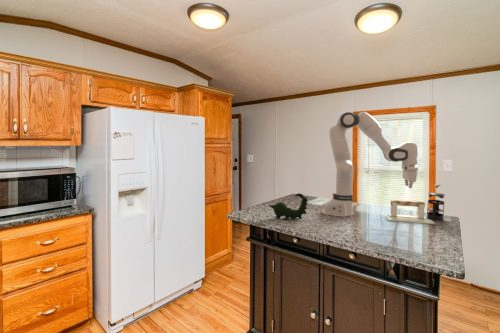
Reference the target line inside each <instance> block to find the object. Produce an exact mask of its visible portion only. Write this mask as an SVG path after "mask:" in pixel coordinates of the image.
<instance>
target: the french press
mask: <svg viewBox="0 0 500 333" xmlns="http://www.w3.org/2000/svg"><path fill="white" fill-rule="evenodd" d="M433 186H434V187H435V188H436V189H435V190H436V192H428V197H429V198H431V197H435V199H427V211H426V219H427V220H432V221H434V222H435V221H436V222H442V220H443V221H444V217H445V216H444V214H445V213H444V212H445V201H443V200H439V199H444V198H445V196H446V194H444V193H441V192H438V188H439V187H442V185H441V184H433ZM437 197H439V199H437ZM429 204H432V207H429ZM442 205H443V206H442ZM440 206H442V209H441V208H440ZM429 211H430V212H429ZM441 212H442V213H441Z"/></svg>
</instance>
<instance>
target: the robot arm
mask: <svg viewBox="0 0 500 333" xmlns="http://www.w3.org/2000/svg"><path fill="white" fill-rule="evenodd" d="M337 119H338V120H337V123H336V124H335V125H333V126H331V127H330V129H329V141H330V145H331V149H332V150H331V151H332V154H333V158H334V162H335V167H336V182H335V184H336V185H335V193H334V192H332V195H331V196H332V199H330V200H329V201H327V202H326V203H325V206H324V208H323V209H321V214H323V215H326V216H327V215H328V216H335V217H343V218H346V217H350V216H351V217H352V216H354V215H355V213H354V208H353V203H354V196H353V186H354V185H353V184H354V183H353V182H354V171H355V170H354V168H355V167H354V165H353V162H352V158H351V153H350V148H349V142H348V140H347V138H348V137H347V134H346V133H347V130H348V129H351V128H353V127H357V128H359V129H360V131H361V132H362V133H363V134H364V135H365V136H366V137H367V138H369V140H371V141H373V142H374V143H375V145H376V146H378V148H379V149H380V151H382V154H383V157H384V159H385V160H387V161H388V162H395V163H397V162H401V169H402V179H404V185H405V186H406V187H408V188H409V189H412V188H413V185H414V183H416V182H417V176H418V171H419V167H418V160H417V158H418V155H419V154H418V153H419V151H418V145H417V144H416V143H415V142H409V141H408V142H407V141H406V142H403V143H402V144H400V145H397V146H395V147H394V146H393V145H391V144H390V143H389V142H388V141H387V140H386V139H385V137H384V136H383V133H382V132H383V131H382V130H383V129H382V127H381V125H380V124H379V122H378V121H377V120H376V119H375V118H374V117H373V116H372V115H370V114H369V113H368V112H366V111H362V112H359V113H354V112H350V111H348V112H345V113H342V114H341V115H340V116H339V118H337Z"/></svg>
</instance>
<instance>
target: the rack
mask: <svg viewBox="0 0 500 333" xmlns="http://www.w3.org/2000/svg"><path fill="white" fill-rule="evenodd" d="M425 206H426V203H425V204H419V207H416V215H408V214H398V205H397V203H394V202H392V205H391V204H390V213H388V217H400V218H413V219H427V217H426V216H425Z"/></svg>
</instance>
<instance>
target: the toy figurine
mask: <svg viewBox="0 0 500 333" xmlns="http://www.w3.org/2000/svg"><path fill="white" fill-rule="evenodd" d="M294 197H295V198H297V197H298V198H300V199H301V201H300V205H299V207H298V209H293V208H291V207H288V205H287V204H286V203H285V202H283V201H281V202H280V201H279V202H276V203H275V204H269V207H271V209H273V213H274V214H275V218H276V219H278V218H279V219H281V217H285V218H284V219H286V220H289V219H290V218H291V220H293V219H295V220H296V219H297V218H298V220H299V219H300V220H302V215H306V214H307V211H306V210H307V209H308V208H307V205H308V197H306V196H304V194H302V193H299V192H298V193H297V194H295V195H294Z"/></svg>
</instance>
